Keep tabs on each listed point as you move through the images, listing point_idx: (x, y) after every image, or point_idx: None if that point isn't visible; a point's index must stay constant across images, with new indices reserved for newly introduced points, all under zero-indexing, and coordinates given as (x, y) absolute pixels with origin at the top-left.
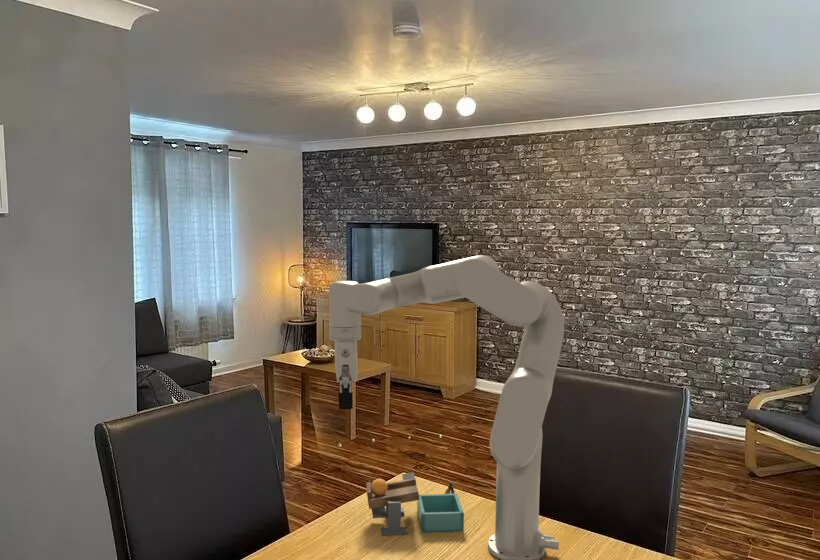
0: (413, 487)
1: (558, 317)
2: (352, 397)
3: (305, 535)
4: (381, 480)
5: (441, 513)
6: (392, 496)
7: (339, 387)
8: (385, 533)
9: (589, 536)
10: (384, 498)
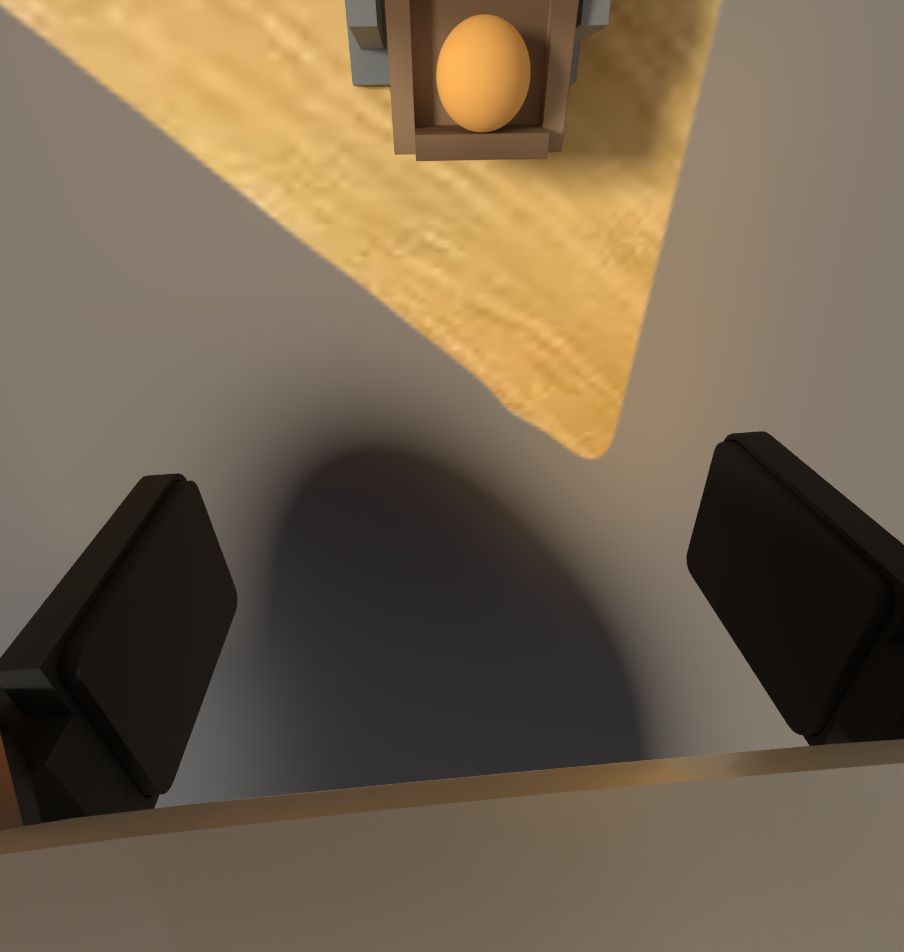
0: None
1: None
2: (873, 521)
3: (527, 374)
4: (501, 55)
5: None
6: None
7: (192, 717)
8: (577, 61)
9: None
10: (572, 46)
